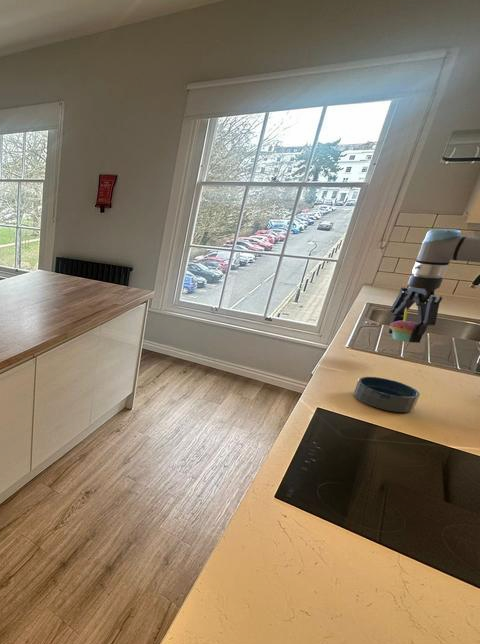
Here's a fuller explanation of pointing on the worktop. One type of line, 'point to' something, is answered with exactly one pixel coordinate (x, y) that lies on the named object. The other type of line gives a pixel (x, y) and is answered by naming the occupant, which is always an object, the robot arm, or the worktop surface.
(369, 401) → the bowl
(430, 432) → the worktop surface
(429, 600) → the worktop surface
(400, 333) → the cupcake
